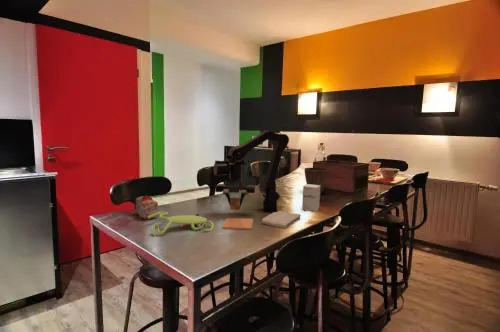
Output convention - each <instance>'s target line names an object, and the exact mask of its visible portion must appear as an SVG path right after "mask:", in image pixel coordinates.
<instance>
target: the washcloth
mask: <svg viewBox="0 0 500 332" xmlns="http://www.w3.org/2000/svg"><path fill="white" fill-rule="evenodd" d="M301 217H302V215H301V214H299V213H291V212H289V211H285V210H277V212H272V213H270V214H268V215H267V216H265V217H263V218H262V219H261V224H262V223H263V224H262V225H265V224H266V225H267V226H271V227H276V228H279V227H280V229H284V228H285V229H287V228H288V227H290V226H292V225H293V224H295V223H296V222H298V221H300V220H301V219H300V218H301ZM297 220H298V221H297ZM294 222H295V223H294Z"/></svg>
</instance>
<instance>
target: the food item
mask: <svg viewBox="0 0 500 332" xmlns="http://www.w3.org/2000/svg"><path fill="white" fill-rule="evenodd" d="M157 212H159V203H158V201H156V200H154V199H153V197H152V196H151V195H144V196H139V197H136V198H135V213H136V214H137V215H138V216H139V218H140V219H141V218H142V219H144V220H152V219H153V220H154V219H158V218H159V217H158V216H159V215H156V216H154V217H152V218H149V219H148V216H150V215H152V214H155V213H157Z"/></svg>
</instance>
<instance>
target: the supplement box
mask: <svg viewBox="0 0 500 332" xmlns="http://www.w3.org/2000/svg"><path fill="white" fill-rule="evenodd" d="M320 199H321V194H320V185H312V184H307V183H306V184H304V185H303V187H302V205H301V208H302V209H301V210H303V211H311V212H314V213H315V212H317V211H318V210H319V209H320Z"/></svg>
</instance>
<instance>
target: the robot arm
mask: <svg viewBox="0 0 500 332" xmlns="http://www.w3.org/2000/svg"><path fill="white" fill-rule="evenodd" d="M266 141H270V142H272V144H271V146H272V154H271V157H270V160H269V161H270V162H269V165H268V169H267V172H266V177H265V178H264V179H261V180H260V183H259V185H258V187H259V192H260V194H262V197H264V199H263V205H262V207H263V209H262V210H263V211H264V212H272V213H273V212H278V206H277V205H278V200H279V199H280V197H281V195H280V193H278V192H277V191H276V190H277V183H276V178H277V174H278V170H279V167H280V163H281V159H282V155H283V152H284V151H285V150H286V149H287V147H288V145H289V142H290V137H289V136H288V134H286V133H275V132H272V131H269V130H263V131H262V132H261V133H259V134H258V135H256V136H254V137H253V138H250V139H249V140H247V141H246V142H244V143H243V144H239V145H236V146H233V147H230V148H229V150H228V153H227V155H226V156H225V158H224V159H223V160H214V164H213V174H214V176H226V175H228V174H229V181H228V186H227V185H226V184H224V183H223V184H221V183H220V184H217V185H216V186H215V190H214V191H215V192H216V193H222V194H224V195H225V198H227V201H228V205H229V206H230V199H231V198H232V196H231V193H235V194H238V193H239V192H241V193H240V198H241V200H240V206H241V207H242V204H243V201H244V198H245V195H248V194H255V193H256V186H255V185H254V184H247V185H246V186H245V185H244V181H243V180H242V179H243V178H242V176H243V174H242V171H243V168H242V166H245V165H246V164H247V163H246V162H245V161H244V160H243V159H244V157H246V156H247V154H248V153H249V152H250V151H252V150H253V149H255V148H256V147H258V146H260V145H261V144H263V143H264V142H266Z"/></svg>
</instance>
